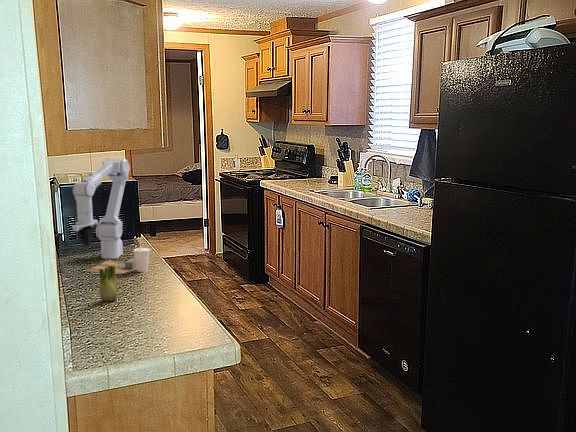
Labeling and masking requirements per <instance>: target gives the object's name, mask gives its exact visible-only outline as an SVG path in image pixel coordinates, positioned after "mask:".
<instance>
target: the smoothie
mask: <svg viewBox="0 0 576 432" xmlns="http://www.w3.org/2000/svg"><path fill="white" fill-rule="evenodd" d="M132 251H133V252H132V253H133V254H134V258H135V261H136V272H140V273H145V272H148V269H149V257H150V252H151V249H150V248H149V247H142V239H141V238H139V247H138V248H134V249H133V250H132Z"/></svg>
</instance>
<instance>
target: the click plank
mask: <svg viewBox="0 0 576 432" xmlns="http://www.w3.org/2000/svg"><path fill="white" fill-rule="evenodd" d="M125 262H126V261H115V260H106V261H104V262H102V263H99V264H97V265H95V266H93V267H90V268H88V269H86V270H85V272H93V273H95V272H96V273H100V272H99V269H100V268H103V271H104V272H105V267H107V265H110V266H111V265H115V267H117V266H119V265H121V264H123V263H125Z"/></svg>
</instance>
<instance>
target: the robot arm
mask: <svg viewBox="0 0 576 432" xmlns="http://www.w3.org/2000/svg"><path fill="white" fill-rule="evenodd" d="M130 170H131V167H130V162H129V161H128V160H127V158H105V159H104V160H102V164H101V166H100V167H99V168H98V169H97V171H94V172H93V171H92V172H91V171H90V172H89V173H88V175H86V177H85V178H83V179H82V180H81V181H77V182H75V183H74V185H73V187H72V194H73V195H74V200H75V201H76V212H77V214H76V215H77V216H76V217H77V221H76V222H75V224H74V225H73V226H72V232H77V233H78V235H79V237H80V239H81V242H82V244H83V245H82V246H90V245H91V241H92V237H93V234H94V232H95V234H96V237H98V239H99V241H100V252H101V253H100V255H101V258H102V259H109V260H111V259H116V258H119V257H120V256H122V255H123V254H124V249H123V248H124V246H123V240H122V239H121V237H122V235H123V224H124V223H123V222H122V220H121V219H119V214H120V210H121V206H122V205H121V204H122V202H123V201H122V200H123V196H124V191H125V186H126V181H127V180H128V179H129V176H130V175H129V174H130ZM105 177H108V179H110V180H111V181H112V185H111V190H110V194H109V198H108V202H107V207H106V210H105V211H106V212H105V215H104V216H102V218H100V219H99V221H98V219H94V216H93V213H94V212H93V200H92V199H93V196H94V194H95V192H96V189H97V188H98V187H99V186H100V185H101V184H102V183H103V179H104V178H105ZM95 226H96V228H95Z"/></svg>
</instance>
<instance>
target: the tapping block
mask: <svg viewBox="0 0 576 432" xmlns="http://www.w3.org/2000/svg"><path fill="white" fill-rule="evenodd" d="M124 262H125V268H130V269H132V270H134V269H135V268H134V267H135V266H136V261H135V257H132V258H131V257H130V258H128V260H126V261H124ZM133 268H134V269H133Z"/></svg>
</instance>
